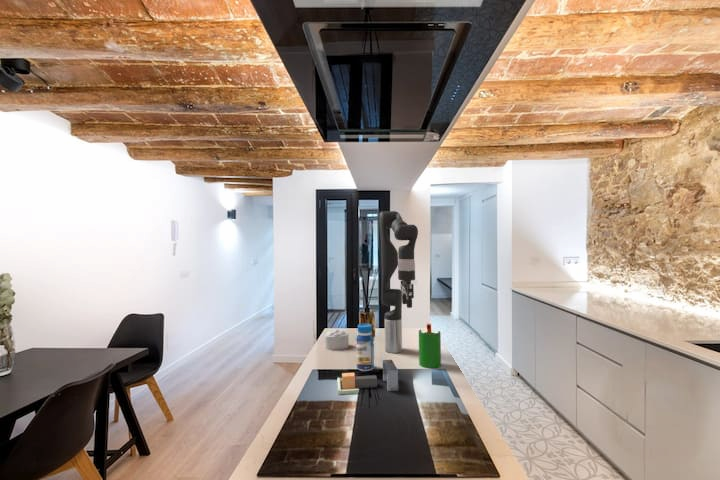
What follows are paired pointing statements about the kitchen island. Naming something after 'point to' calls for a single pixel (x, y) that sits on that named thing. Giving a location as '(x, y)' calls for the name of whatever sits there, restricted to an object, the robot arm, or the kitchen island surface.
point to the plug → (358, 381)
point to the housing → (390, 375)
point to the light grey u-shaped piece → (348, 391)
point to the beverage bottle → (365, 348)
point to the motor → (429, 348)
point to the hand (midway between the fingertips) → (407, 305)
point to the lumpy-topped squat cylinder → (336, 340)
